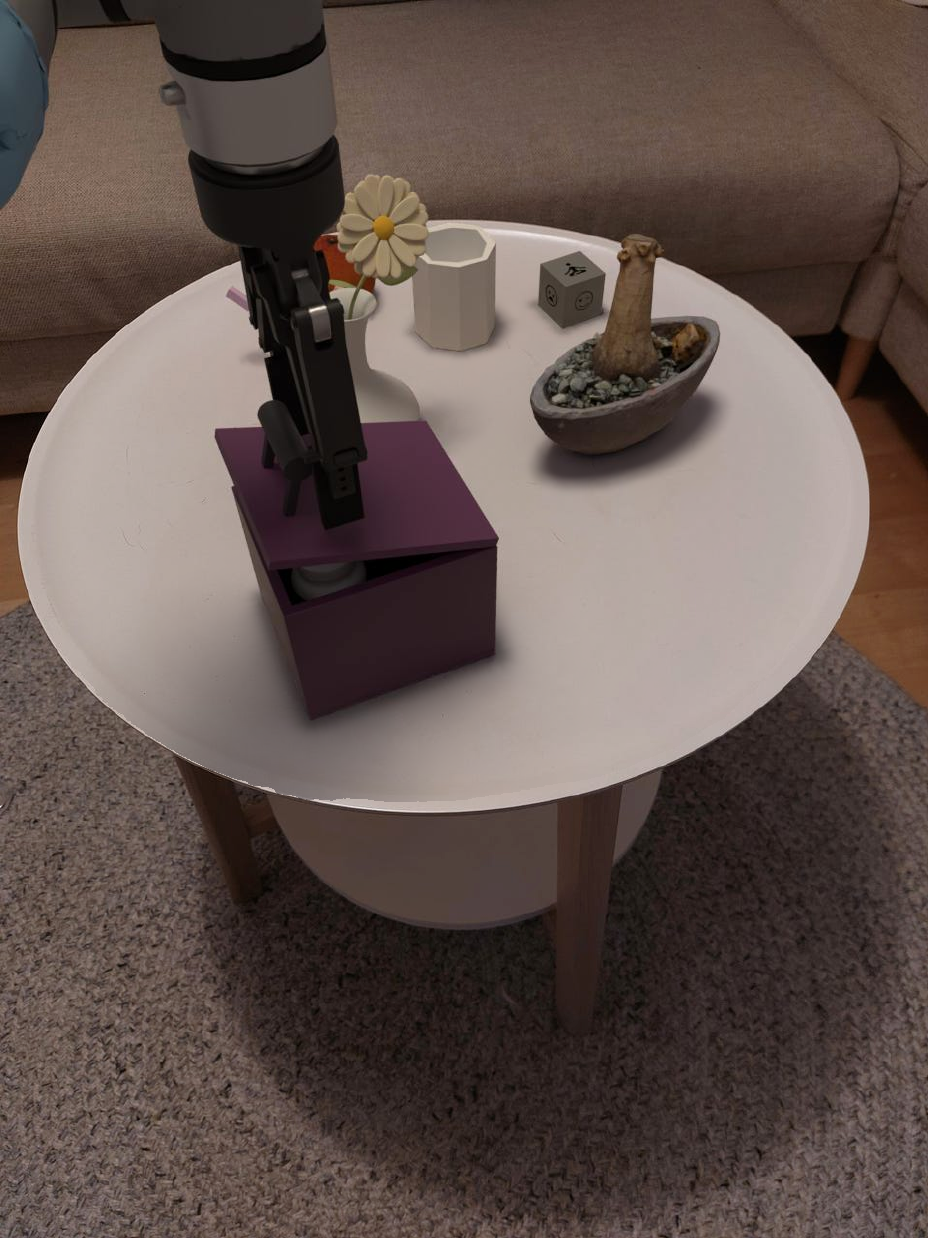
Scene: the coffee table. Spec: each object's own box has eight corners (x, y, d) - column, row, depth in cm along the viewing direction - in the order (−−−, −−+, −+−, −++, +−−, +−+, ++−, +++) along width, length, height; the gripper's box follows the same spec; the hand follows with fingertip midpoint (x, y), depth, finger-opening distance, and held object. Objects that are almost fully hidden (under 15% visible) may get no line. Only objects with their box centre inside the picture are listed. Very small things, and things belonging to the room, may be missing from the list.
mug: (499, 348, 103) (500, 264, 96) (418, 354, 103) (413, 270, 95) (486, 283, 111) (486, 200, 103) (410, 288, 110) (405, 206, 102)
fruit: (389, 316, 107) (384, 249, 101) (311, 334, 105) (300, 267, 99) (366, 273, 112) (359, 207, 106) (291, 289, 110) (279, 223, 104)
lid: (268, 570, 61) (280, 499, 57) (214, 437, 69) (220, 366, 65) (496, 546, 68) (520, 481, 64) (424, 428, 76) (441, 364, 72)
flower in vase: (307, 472, 92) (260, 223, 72) (301, 395, 99) (257, 149, 79) (444, 457, 93) (435, 207, 73) (429, 381, 100) (417, 135, 80)
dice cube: (562, 328, 105) (565, 287, 101) (538, 304, 108) (540, 263, 104) (601, 314, 107) (605, 273, 103) (576, 291, 109) (579, 250, 106)
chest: (310, 720, 75) (284, 617, 65) (261, 595, 83) (230, 486, 73) (495, 654, 79) (497, 546, 68) (431, 540, 86) (425, 428, 76)
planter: (707, 395, 98) (751, 205, 82) (678, 509, 88) (722, 319, 73) (564, 368, 101) (579, 180, 85) (520, 476, 91) (529, 286, 75)
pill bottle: (312, 599, 81) (294, 515, 74) (380, 606, 81) (369, 522, 73) (296, 654, 78) (275, 572, 70) (366, 661, 77) (353, 580, 69)
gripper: (141, 67, 54) (226, 396, 71) (246, 268, 41) (316, 604, 59) (273, 43, 55) (323, 369, 73) (411, 228, 43) (431, 566, 61)
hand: (320, 474), depth 66 cm, fingers open, 9 cm apart
